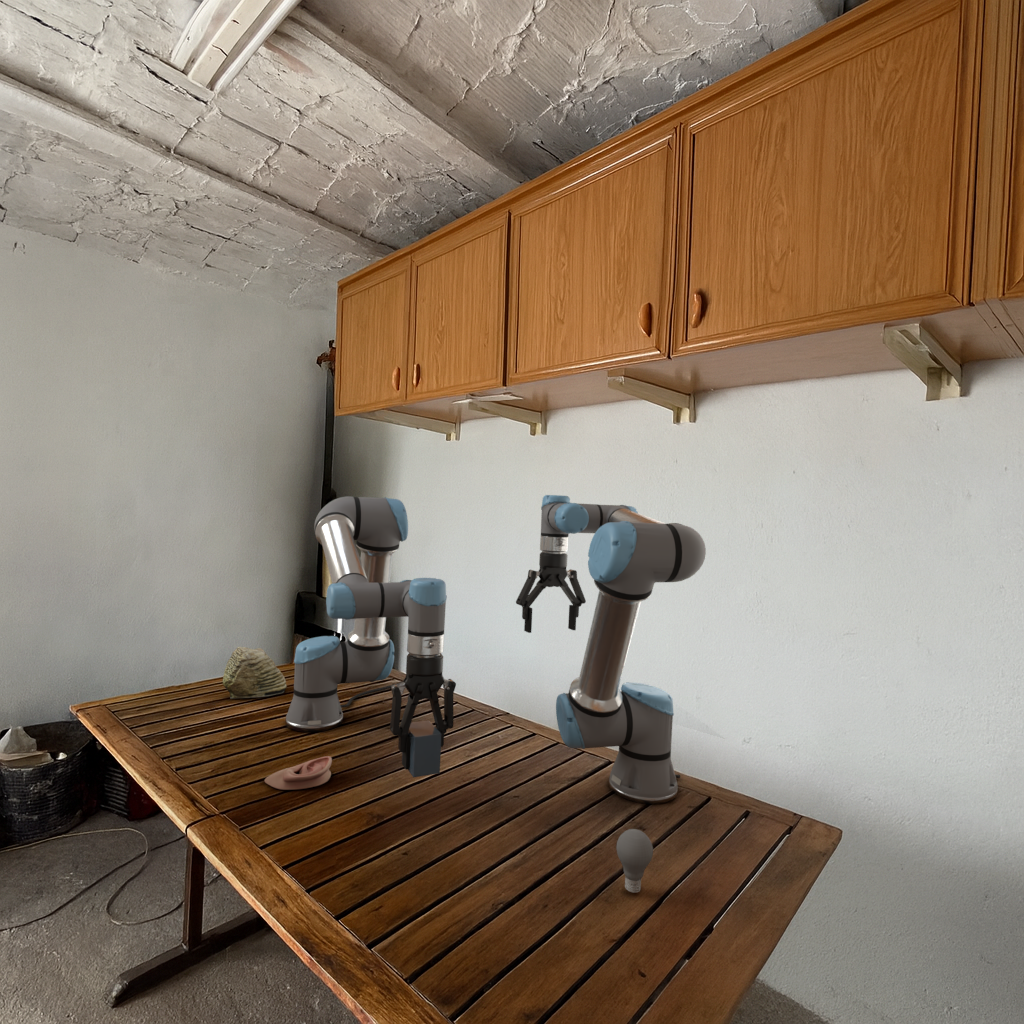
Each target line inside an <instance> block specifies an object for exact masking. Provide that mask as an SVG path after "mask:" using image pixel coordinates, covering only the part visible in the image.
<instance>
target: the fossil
mask: <svg viewBox="0 0 1024 1024" xmlns="http://www.w3.org/2000/svg"><path fill="white" fill-rule="evenodd" d="M222 676H223V677H222V685H223V687H224V688H225V690H226V691H228V693H229V698H230V699H250V698H264V697H271V696H275V695H281V694H284V693H285V691H286V689H287V687H288V686H287V680H286V678H285V676H284V674H283V673H282V672H281V669H279V668H278V667H277V665H276V663H275V662H274V660H273V659H272V658H271V657H270V656H269V655H268V654H267V653H266V652H265V650H264V649H263V648H260V647H258V648H251V647H247V646H246V647H245V646H238V647H237V648H236V649H235V650H233V651H232V653H231V656H230V657H229V659H228V660H227V663H226V666H225V668H224V671H223V675H222Z"/></svg>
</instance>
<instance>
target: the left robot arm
mask: <svg viewBox="0 0 1024 1024" xmlns="http://www.w3.org/2000/svg"><path fill="white" fill-rule="evenodd" d="M313 528H314V529H313V530H314V534H315V538H316V540H317V542H318V543H319V544H320V545H321V546H322V549H323V553H324V557H325V561H326V564H327V568H328V573H329V574H330V580H331V583H330V584H329V585H328V587H327V589H326V598H325V600H326V601H325V605H326V614H327V616H328V617H329V618H330V619H333V620H347V621H348V620H354V624H353V629H352V630H350V631H349V632H348V633H347V641H341V640H340V638H339V637H338V636H335V635H321V636H315V637H311V638H308V639H305V640H303V641H301V642H299V643H298V644H297V645H296V648H295V654H294V660H293V663H294V674H293V675H294V679H293V695H292V696H293V697H292V699H291V702H290V704H289V708H288V711H287V713H286V715H285V726H286V728H287V729H289V730H291V731H294V732H295V731H296V732H301V733H316V732H325V731H329V730H332V729H335V728H337V727H339V726H340V725H342V723H343V722H344V713H343V709H345V708H347V707H350V706H351V704H352V702H353V701H354V700H355V699H358V698H360V697H362V696H366V695H368V694H369V695H370V694H372V693H377V692H380V691H384V690H389V689H390V691H391V694H392V699H391V700H392V701H391V710H390V722H389V723H390V724H389V731H390V733H392V735H393V736H395V737H396V736H398V745H397V748H398V751H399V752H400V753H401V765H402V767H403V768H404V769H405V770H408V769H409V766H410V742H411V737H410V736H409V735H408V731H409V728H410V725H411V722H413V719H414V716H415V715H414V714H415V712H416V709H417V706H418V705H419V702H420V701H421V700H428V701H429V704H430V708H431V712H432V718H433V720H434V726H435V727H436V729H437V730H438V731H439V732H440V733H441V748H443V747H444V744H445V734H446V733H447V730H449V729H453V727H454V693H455V690H456V686H457V683H456V681H454V680H453V679H451V678H444V675H443V672H444V670H443V669H444V656H443V652H444V649H445V648H444V645H445V624H446V606H447V598H448V597H447V585H446V582H445V580H444V579H441V578H436V577H417V578H413V579H403V580H401V581H397V582H396V581H393V582H391V575H392V566H393V555H394V553H396V552H397V551H398V550H399V549H400V543H401V542H404V541H406V540H407V538H408V536H409V519H408V513H407V510H406V507H405V504H404V502H403V501H402V500H401V499H397V498H389V497H379V496H377V497H376V496H371V497H370V496H347V495H346V496H340V497H338V498H335V499H332V500H331V501H329V502H328V503H327V504H325V505H324V506H323V507H322V508H321V510H320V511H319V512H318V514H317V515H316V518H315V520H314V527H313ZM355 541H356V542H355ZM358 549H359V550H360V553H359V550H358ZM404 617H405V618H407V639H406V640H407V643H406V652H407V653H408V654H407V655H406V665H405V666H406V667H405V677H404V679H403V681H401V682H398V683H392V684H390V685H386V686H382V687H378V688H374V689H373V688H372V689H370V690H366V691H363V692H360V693H357V694H355V695H353V696H351V697H350V698H349V700H348V701H347V703H346V704H345V703H344V704H341V702H340V699H339V695H338V685H342V684H343V685H345V684H355V683H369V682H370V683H374V682H376V681H377V682H378V681H383V680H386V679H387V678H388V677H389V676H390V674H391V673H392V670H393V668H394V662H395V645H394V644H395V643H394V642H393V641H392V639H390V635H389V634H388V632H386V621H387V618H404ZM441 688H443V713H442V710H441V706H440V700H439V695H438V692H439V691H440V690H441ZM405 689H406V691H407V692H408V696H407V702H406V704H405V708H404V711H403V713H402V714H403V715H402V717H401V711H402V702H403V701H402V695H403V694H404V690H405ZM402 752H403V753H402Z"/></svg>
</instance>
